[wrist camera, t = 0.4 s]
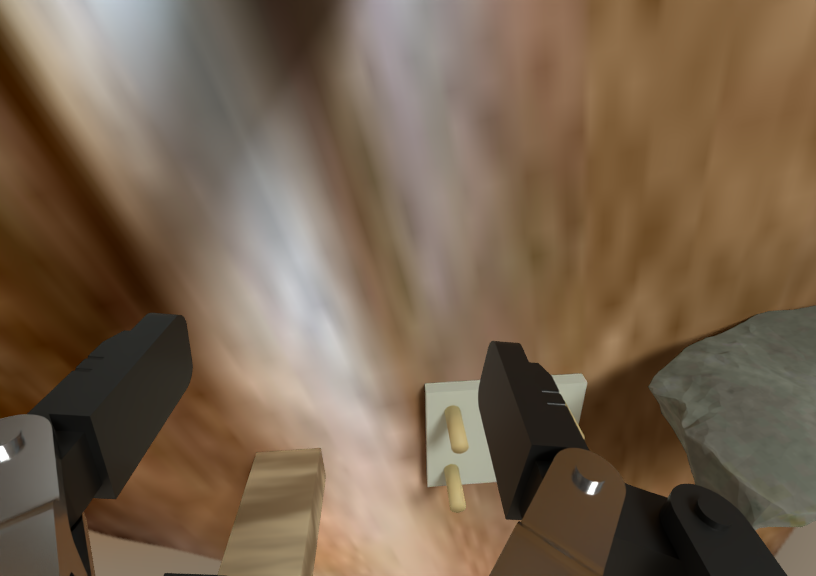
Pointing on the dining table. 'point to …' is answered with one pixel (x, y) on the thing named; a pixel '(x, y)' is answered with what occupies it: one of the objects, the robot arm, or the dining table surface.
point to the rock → (750, 415)
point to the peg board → (471, 433)
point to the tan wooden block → (278, 516)
